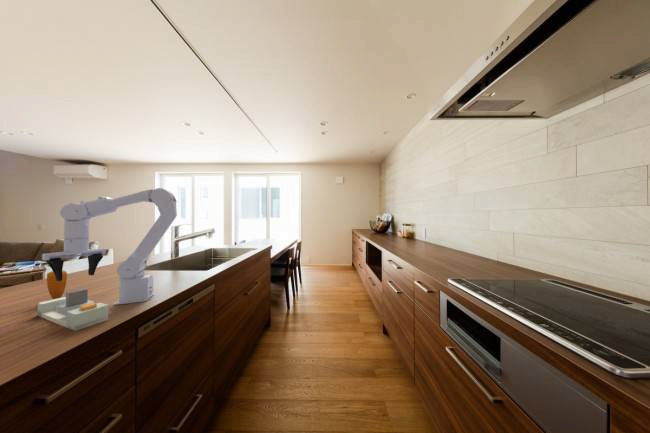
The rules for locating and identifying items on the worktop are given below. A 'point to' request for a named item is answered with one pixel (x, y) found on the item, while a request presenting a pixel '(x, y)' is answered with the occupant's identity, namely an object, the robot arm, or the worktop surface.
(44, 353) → the worktop surface
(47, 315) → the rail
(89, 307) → the orange small block
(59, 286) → the carrot
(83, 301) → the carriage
